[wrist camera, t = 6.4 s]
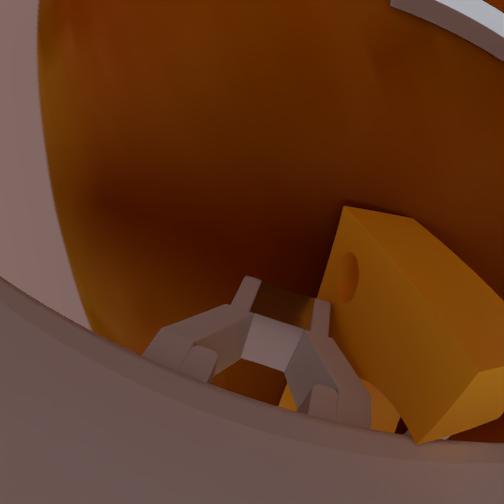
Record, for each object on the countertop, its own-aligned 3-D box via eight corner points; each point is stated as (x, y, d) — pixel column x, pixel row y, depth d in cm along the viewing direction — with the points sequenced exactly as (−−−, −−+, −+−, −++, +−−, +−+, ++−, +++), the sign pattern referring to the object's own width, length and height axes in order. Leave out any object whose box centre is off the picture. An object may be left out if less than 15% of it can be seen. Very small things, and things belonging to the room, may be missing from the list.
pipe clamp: (344, 427, 15) (373, 528, 9) (267, 431, 14) (283, 545, 9) (449, 226, 10) (575, 344, 4) (343, 205, 9) (478, 371, 3)
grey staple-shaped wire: (602, 124, 5) (631, 134, 4) (391, 454, 16) (391, 479, 14) (393, -14, 6) (404, -36, 5) (245, 418, 17) (236, 445, 15)
